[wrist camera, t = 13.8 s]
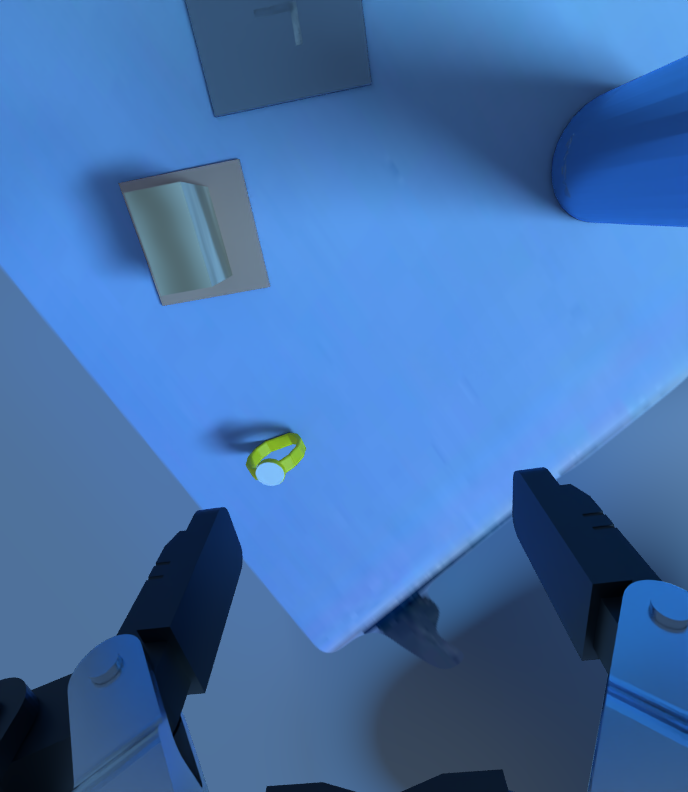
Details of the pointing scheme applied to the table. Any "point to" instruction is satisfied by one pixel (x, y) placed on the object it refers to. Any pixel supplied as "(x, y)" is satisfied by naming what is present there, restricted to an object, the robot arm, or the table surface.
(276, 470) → the watch
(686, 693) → the robot arm
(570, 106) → the table surface
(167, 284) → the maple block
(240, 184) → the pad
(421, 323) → the table surface
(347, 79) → the board
